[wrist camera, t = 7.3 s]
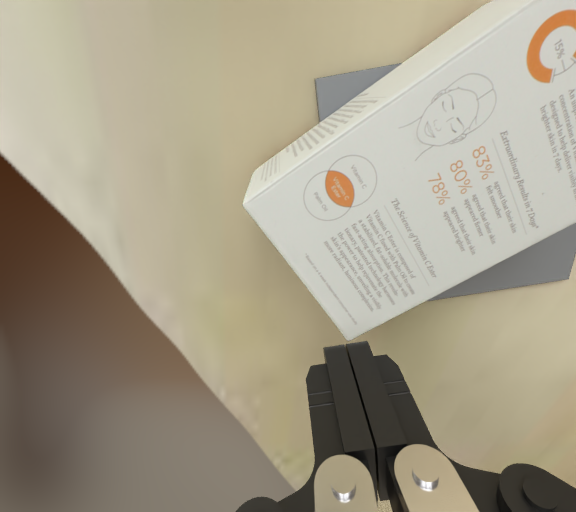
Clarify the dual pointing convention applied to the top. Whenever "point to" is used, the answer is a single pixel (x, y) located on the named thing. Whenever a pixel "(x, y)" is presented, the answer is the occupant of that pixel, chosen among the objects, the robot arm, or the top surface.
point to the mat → (506, 274)
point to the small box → (431, 167)
